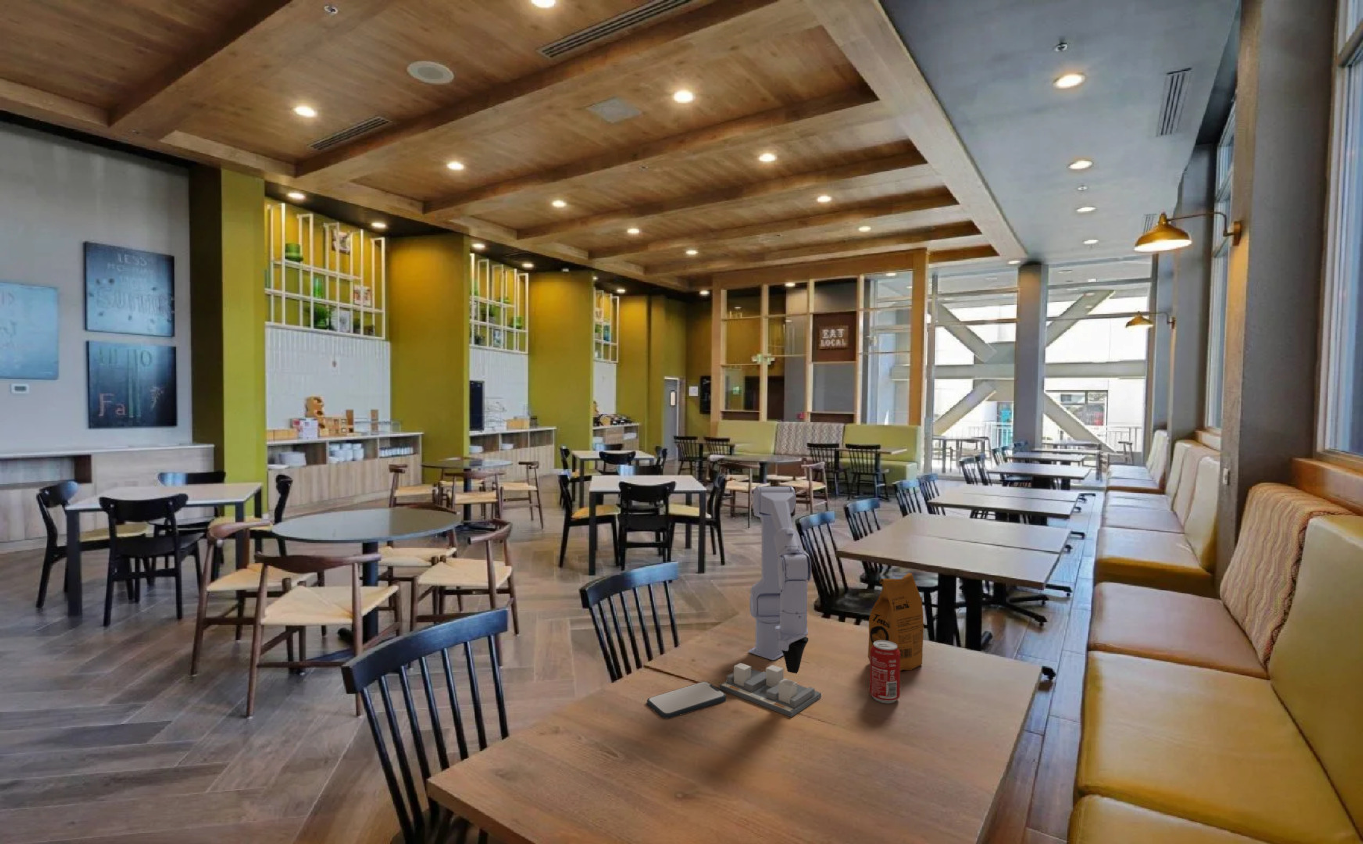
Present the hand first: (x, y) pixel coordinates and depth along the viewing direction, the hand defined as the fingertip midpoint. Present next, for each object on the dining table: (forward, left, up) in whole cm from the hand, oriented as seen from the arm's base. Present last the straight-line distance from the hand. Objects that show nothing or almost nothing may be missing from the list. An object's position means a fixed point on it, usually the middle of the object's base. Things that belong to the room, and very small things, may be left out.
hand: (792, 671), depth 140 cm
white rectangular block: (-2, -6, -5) cm, 8 cm away
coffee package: (-34, +8, -7) cm, 36 cm away
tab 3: (+2, 0, -5) cm, 6 cm away
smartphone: (+15, -17, -7) cm, 24 cm away
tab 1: (+2, -12, -5) cm, 13 cm away
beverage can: (-15, +14, -7) cm, 22 cm away
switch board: (0, -6, -7) cm, 9 cm away
